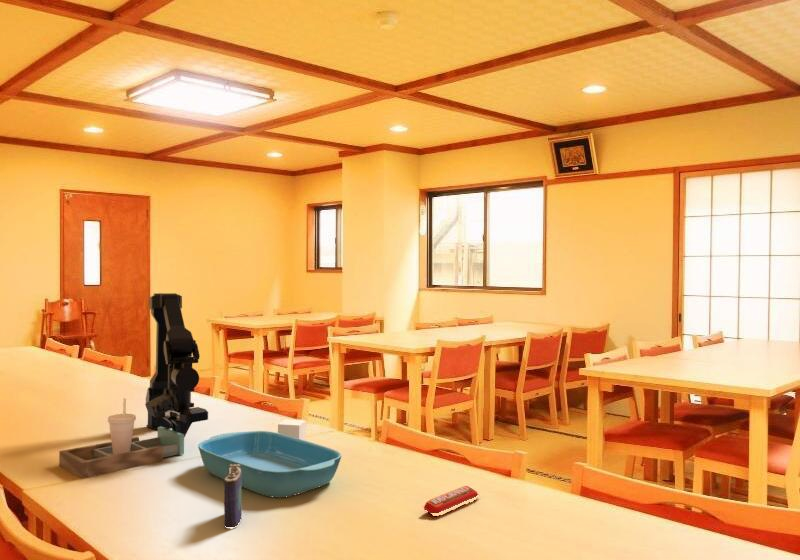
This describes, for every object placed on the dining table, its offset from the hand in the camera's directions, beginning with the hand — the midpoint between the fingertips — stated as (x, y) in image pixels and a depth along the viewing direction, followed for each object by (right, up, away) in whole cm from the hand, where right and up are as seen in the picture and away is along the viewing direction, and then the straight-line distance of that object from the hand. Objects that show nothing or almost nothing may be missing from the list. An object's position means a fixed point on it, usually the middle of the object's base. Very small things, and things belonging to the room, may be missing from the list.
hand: (178, 443), depth 174 cm
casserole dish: (+28, -3, -21) cm, 35 cm away
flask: (+26, -3, -47) cm, 54 cm away
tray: (-7, -1, -8) cm, 11 cm away
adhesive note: (+28, -2, +8) cm, 29 cm away
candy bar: (+68, -4, -38) cm, 78 cm away
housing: (-12, -2, -13) cm, 18 cm away
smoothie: (-10, -1, -11) cm, 15 cm away
